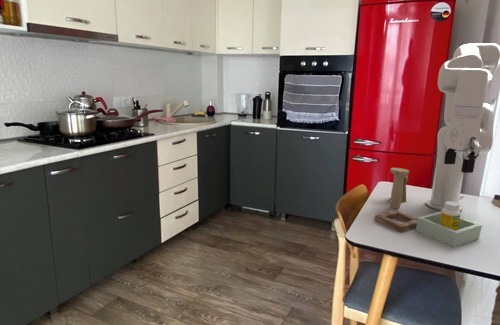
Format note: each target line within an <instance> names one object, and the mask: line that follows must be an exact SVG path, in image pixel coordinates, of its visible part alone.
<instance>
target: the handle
mask: <svg viewBox="0 0 500 325" xmlns="http://www.w3.org/2000/svg"><path fill="white" fill-rule="evenodd" d="M390 173H391V174H393V182H392V188H391V194H390V207H391V208H393V209H400V207H401V204H402V203H401V200H402V195H403V180H404V176H406V175H407V176H408V175H409V174H410V170H409V169H406V168H401V167H390Z"/></svg>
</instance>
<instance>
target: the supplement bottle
mask: <svg viewBox="0 0 500 325" xmlns="http://www.w3.org/2000/svg"><path fill="white" fill-rule="evenodd" d="M459 204H460V203H459ZM459 204H458V203H456V202H451V201H447V202H445V208H443V209H442V210H440V211H441V217H440V223H439V225H442V226H444V227H447V228H449V229H452V230H455V231H456V230H458V226H459V221H460V217H461V215H462V214H461V211H459V210H458V209H459V206H460V205H459Z"/></svg>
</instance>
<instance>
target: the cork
mask: <svg viewBox="0 0 500 325" xmlns="http://www.w3.org/2000/svg"><path fill="white" fill-rule="evenodd" d="M408 181H409V177H408V175H406V176H404V180H403V195H402V200H401V204H402V203H404V204H405V203H406V202H407V183H408Z"/></svg>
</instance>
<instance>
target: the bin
mask: <svg viewBox="0 0 500 325" xmlns="http://www.w3.org/2000/svg"><path fill="white" fill-rule="evenodd" d="M440 217H441V210H439V211H437V212H434V213H429V214H426V215H422V216H418V217H417V218H418V219H417V226H416V229H415V231H417V232H419V233H421V234H424V235H425V236H427V237H430V238H432V239H435V240H436V241H440V242H442V243H443V244H447V245H449V246H451V247H454V248H455V247H459V246H461V245H464V244H467V243H470V242H472V241H475V240H478V239H480V236H481V231H482V224H481V223H478V222H474V221H472V220H469V219H466V218H463V217H461V216H460V221H459V226H458V230H456V231H455V230H452V229H449V228H447V227H444V226H442V225H439V223H440Z"/></svg>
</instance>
